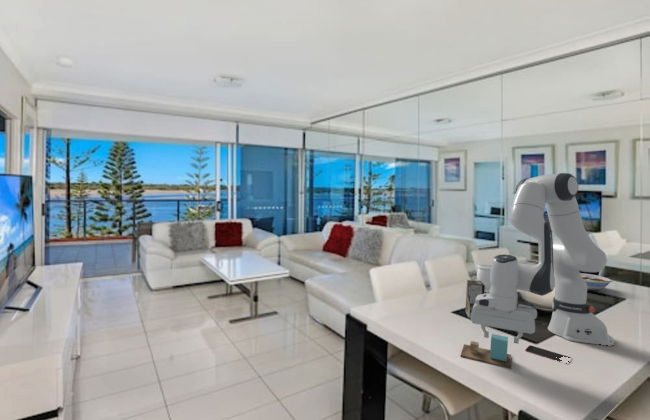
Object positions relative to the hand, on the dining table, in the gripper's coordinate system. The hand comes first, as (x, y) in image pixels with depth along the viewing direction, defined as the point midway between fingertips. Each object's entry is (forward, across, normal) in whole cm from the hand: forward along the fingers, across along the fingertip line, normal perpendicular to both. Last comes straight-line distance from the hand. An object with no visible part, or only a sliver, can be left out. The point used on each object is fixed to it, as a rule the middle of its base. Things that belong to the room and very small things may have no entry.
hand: (501, 339), depth 124 cm
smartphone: (+8, -16, -14) cm, 22 cm away
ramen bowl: (+9, -45, -132) cm, 139 cm away
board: (+7, +5, 0) cm, 8 cm away
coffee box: (+8, +12, -42) cm, 44 cm away
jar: (+8, +10, -90) cm, 91 cm away
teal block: (+6, 0, 0) cm, 6 cm away
